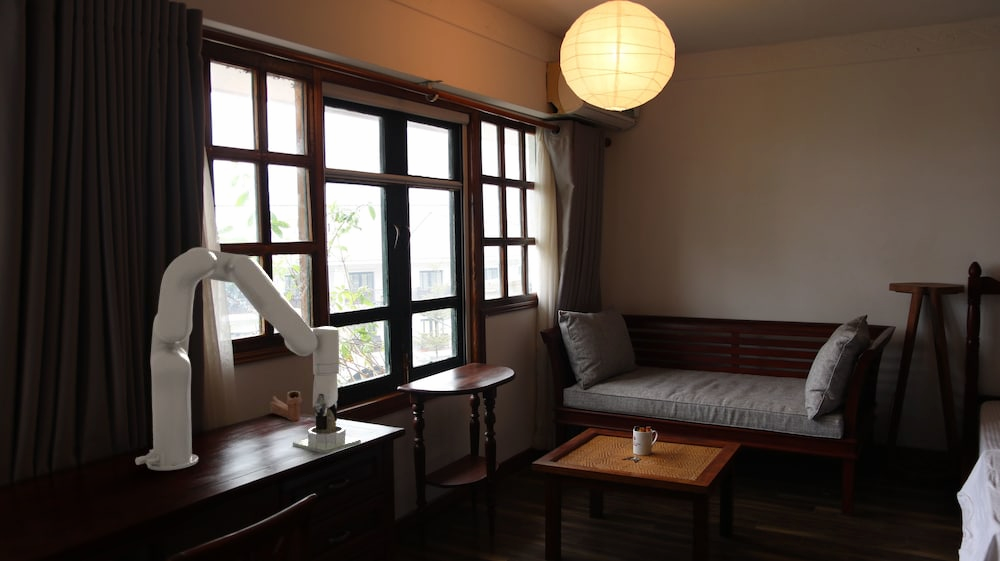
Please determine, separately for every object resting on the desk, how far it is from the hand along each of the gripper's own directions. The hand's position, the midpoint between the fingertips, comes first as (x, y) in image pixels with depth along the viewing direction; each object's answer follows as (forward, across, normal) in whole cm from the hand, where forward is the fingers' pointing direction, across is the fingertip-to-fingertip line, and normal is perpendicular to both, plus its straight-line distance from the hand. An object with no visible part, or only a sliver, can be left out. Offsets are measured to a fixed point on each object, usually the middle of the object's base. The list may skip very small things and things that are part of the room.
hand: (326, 425), depth 214 cm
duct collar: (+6, 0, 0) cm, 6 cm away
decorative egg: (+5, 0, 0) cm, 5 cm away
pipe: (+6, -32, -25) cm, 41 cm away
